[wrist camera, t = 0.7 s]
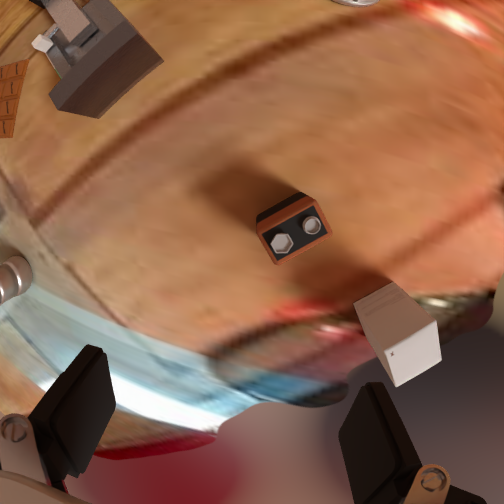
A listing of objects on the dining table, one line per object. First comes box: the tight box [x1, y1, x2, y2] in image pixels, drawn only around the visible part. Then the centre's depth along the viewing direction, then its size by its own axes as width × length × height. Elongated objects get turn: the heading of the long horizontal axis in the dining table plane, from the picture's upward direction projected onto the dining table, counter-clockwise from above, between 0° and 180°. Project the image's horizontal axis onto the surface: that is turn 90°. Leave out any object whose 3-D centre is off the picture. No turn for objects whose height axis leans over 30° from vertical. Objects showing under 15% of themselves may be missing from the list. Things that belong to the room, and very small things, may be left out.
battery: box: [256, 192, 332, 265], centre depth 33 cm, size 4×7×10 cm, turn 120°
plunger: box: [29, 0, 98, 47], centre depth 24 cm, size 10×18×6 cm, turn 36°
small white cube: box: [32, 34, 53, 53], centre depth 25 cm, size 2×2×3 cm
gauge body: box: [43, 0, 164, 119], centre depth 26 cm, size 12×20×10 cm, turn 37°
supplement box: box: [353, 282, 441, 387], centre depth 35 cm, size 7×7×13 cm
